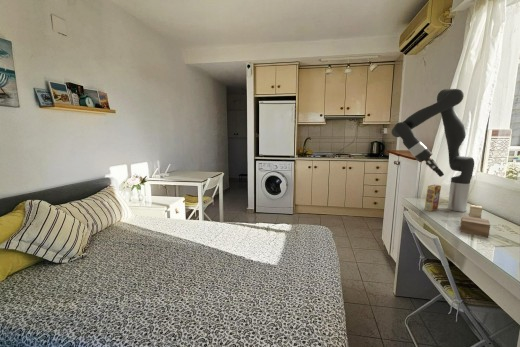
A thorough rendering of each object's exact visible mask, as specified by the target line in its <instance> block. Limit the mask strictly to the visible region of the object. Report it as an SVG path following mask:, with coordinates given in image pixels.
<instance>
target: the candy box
mask: <svg viewBox="0 0 520 347" xmlns="http://www.w3.org/2000/svg"><path fill="white" fill-rule="evenodd" d="M441 188H442V185H439V184H432V185H428V186H427V189H426V197H425V204H424V210H425V211H429V212H432V211H437V210H438V209H439V202H440V198H441V197H440V196H441Z"/></svg>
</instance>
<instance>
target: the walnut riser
mask: <svg viewBox="0 0 520 347" xmlns="http://www.w3.org/2000/svg"><path fill="white" fill-rule="evenodd" d="M459 226H460V227H459V230H460V231H459V232H460V233H463V232H464V234H468V233H469V234H468V235H473V236H478V237H479V236H480V237H485V238H489V236H490V232H491V231H490V229H491V223H490V220H489V219H488V218H487V219H486V218H483V217H481V218H476V217H469V215H463V214H462V215H461V218H460V225H459Z"/></svg>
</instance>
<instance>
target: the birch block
mask: <svg viewBox="0 0 520 347" xmlns="http://www.w3.org/2000/svg"><path fill="white" fill-rule="evenodd" d="M468 212H469V214H468V216H469V217H476V218H482V212H483V206H480V205H473V204H470V206H469V211H468Z"/></svg>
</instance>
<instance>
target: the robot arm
mask: <svg viewBox="0 0 520 347" xmlns="http://www.w3.org/2000/svg"><path fill="white" fill-rule="evenodd" d="M464 95H465V94H464V92H463V90H462V89H459V88H444V89H441V90H440V91H438V94H437V96H436V102H435V103H433V104H431V105H428V106H426V107H423V108H421V109H420V110H419V109H418V110H417V111H416V112H414V113H412V114H411V115H409V116H407V118H405V120H403V121H401V122H397V123H396V124H395V125H394V126H393V127H392V129H391V135H392V137H395V138H401V140H402V144H403V145H404V147H405V148H406V149H407V150H408V151H409V152H410V153H411V155H412V156H413V157H414V158H415V159H416V160H417V161H418V162H419V163H422V162H424V161H425V164H426V166H427V167H429V169H430V170H432V171H433V172H435V173H436V174H437V175H438V177H439V178H440V177H443V176H444V175H445V174H444V172H443V171H442V170H441V169H440V168H439V166H438V163H436V162H435V160H434V159H433V158H430V157H432V156H433V153H432V151H431V150H430V149H429V148H428V147H427V146H426V145H425V144H424V143H422V141H420V140H419V139H418V137H416V135H415V134H414V132H413V131H412V130H413V129H414V128H417V127H418V126H419V125H421V124H423V123H425V122H427V121H428V120H429V119H431V118H432V117H434V116H435V117H436V116H437V115H438V114H440V115H441V119H442V124H443V128H444V135H445V139H446V144H447V152H448V164H449V168H450V169H451V170H452V171H455V172H460V174H459V175H456V176H452V177H450V184H449V185H450V186H449V194H448V198H447V199H448V201H447V206H446V207H447V210H450V211H454V212H461V213H462V212H464V213H465V212H467V206H468V199H469V192H470V187H471V185H470V183H471V180H472V177H473V172H474V169H475V159H474V158H473V157H470V156H465V155H464V156H463V155H460V152H459V151H460V150H459V149H460V146H461V145H463V142H464V140H465V138H466V129H465V128H466V127H465V124H464V123H463V121H462V119H461V118H460V117H459V116H458V114H457V112H456V110H455V106H457V105H460V104H461V102H462V101H463V99H464V97H465V96H464Z"/></svg>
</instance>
